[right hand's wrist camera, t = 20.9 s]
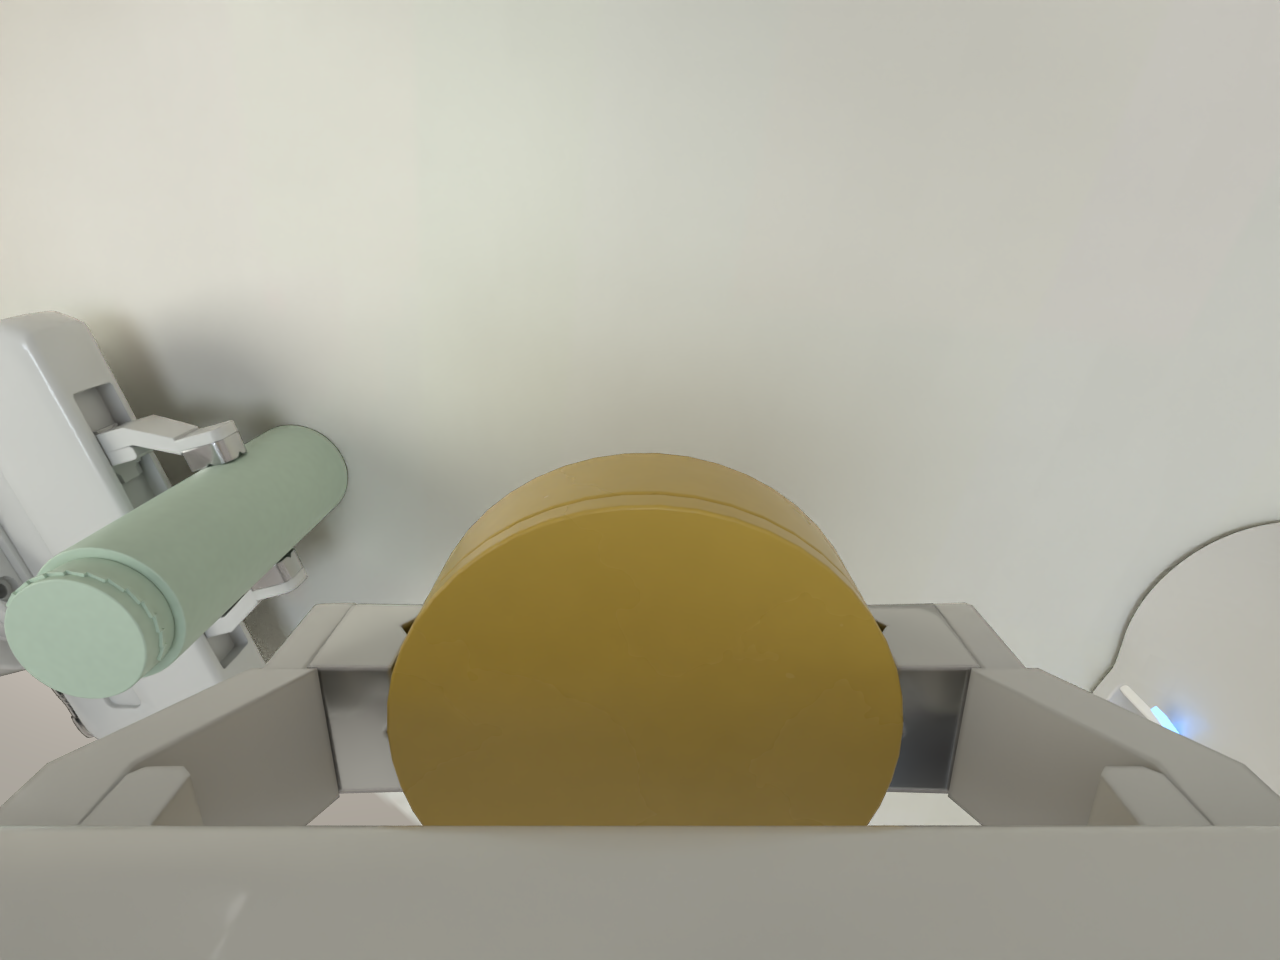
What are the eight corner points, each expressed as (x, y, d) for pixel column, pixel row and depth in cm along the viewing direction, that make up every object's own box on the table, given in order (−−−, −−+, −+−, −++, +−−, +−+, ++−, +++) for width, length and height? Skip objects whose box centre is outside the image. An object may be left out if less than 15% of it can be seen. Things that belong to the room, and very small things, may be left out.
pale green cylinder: (366, 464, 37) (184, 630, 22) (317, 534, 38) (116, 734, 24) (279, 405, 36) (30, 538, 21) (231, 479, 37) (-34, 652, 23)
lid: (366, 502, 9) (308, 566, 8) (832, 407, 9) (877, 453, 7) (496, 850, 11) (471, 962, 10) (881, 787, 11) (924, 892, 9)
